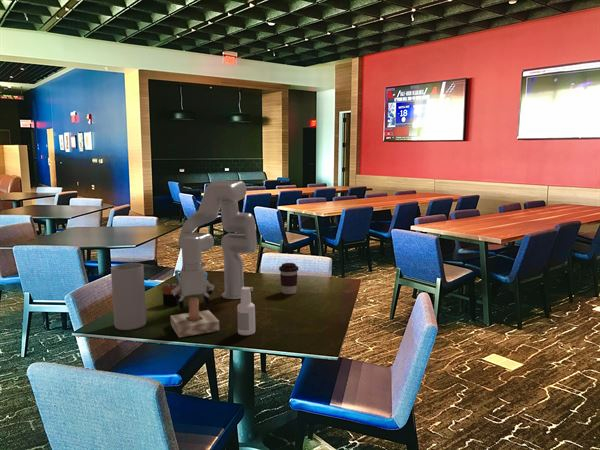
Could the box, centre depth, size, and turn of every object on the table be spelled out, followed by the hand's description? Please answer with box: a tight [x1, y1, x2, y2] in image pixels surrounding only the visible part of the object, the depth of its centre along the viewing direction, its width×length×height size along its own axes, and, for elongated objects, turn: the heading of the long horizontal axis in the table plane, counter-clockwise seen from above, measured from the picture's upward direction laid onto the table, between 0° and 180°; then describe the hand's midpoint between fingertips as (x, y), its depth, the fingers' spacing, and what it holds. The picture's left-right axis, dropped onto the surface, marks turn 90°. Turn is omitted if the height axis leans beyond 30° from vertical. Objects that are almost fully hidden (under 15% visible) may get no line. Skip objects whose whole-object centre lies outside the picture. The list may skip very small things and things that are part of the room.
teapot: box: [174, 269, 210, 285], centre depth 257 cm, size 15×17×11 cm
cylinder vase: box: [110, 262, 147, 331], centre depth 195 cm, size 12×12×25 cm
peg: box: [188, 297, 200, 321], centre depth 193 cm, size 4×4×12 cm
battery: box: [162, 283, 181, 307], centre depth 225 cm, size 4×7×10 cm, turn 82°
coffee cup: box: [278, 262, 299, 295], centre depth 243 cm, size 10×10×15 cm
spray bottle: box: [236, 286, 256, 336], centre depth 186 cm, size 7×7×18 cm
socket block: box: [170, 309, 220, 338], centre depth 193 cm, size 16×16×4 cm
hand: (194, 308), depth 193 cm, fingers open, 9 cm apart
